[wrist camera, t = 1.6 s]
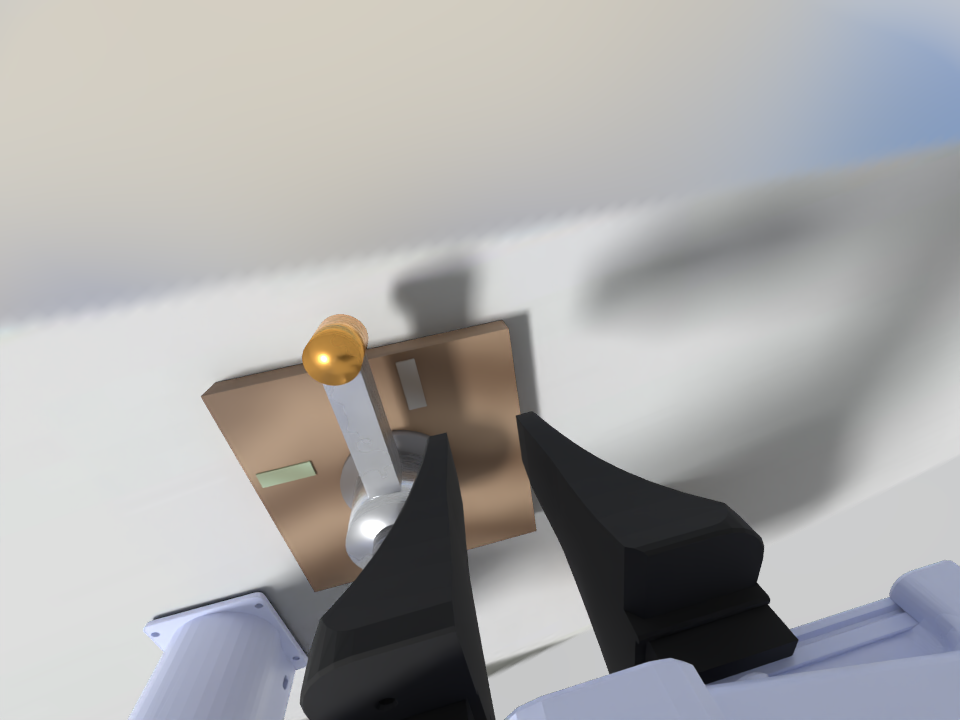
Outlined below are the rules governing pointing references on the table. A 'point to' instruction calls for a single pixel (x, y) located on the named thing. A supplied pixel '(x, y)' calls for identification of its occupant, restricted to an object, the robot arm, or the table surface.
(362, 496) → the gold-capped lever
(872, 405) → the table surface
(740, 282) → the table surface
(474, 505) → the coupling base
